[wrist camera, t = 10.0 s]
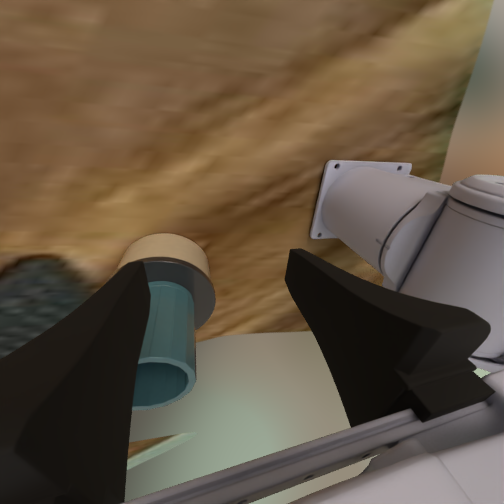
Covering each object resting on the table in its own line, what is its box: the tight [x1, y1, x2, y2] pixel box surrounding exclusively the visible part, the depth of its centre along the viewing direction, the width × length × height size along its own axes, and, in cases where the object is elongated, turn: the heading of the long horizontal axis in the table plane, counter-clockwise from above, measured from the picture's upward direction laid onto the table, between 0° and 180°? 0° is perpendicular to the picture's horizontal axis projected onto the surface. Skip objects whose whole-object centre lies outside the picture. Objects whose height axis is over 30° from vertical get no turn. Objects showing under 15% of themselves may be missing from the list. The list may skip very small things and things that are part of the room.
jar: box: [106, 233, 216, 330], centre depth 20 cm, size 9×9×5 cm
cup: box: [132, 281, 196, 410], centre depth 15 cm, size 5×5×6 cm
